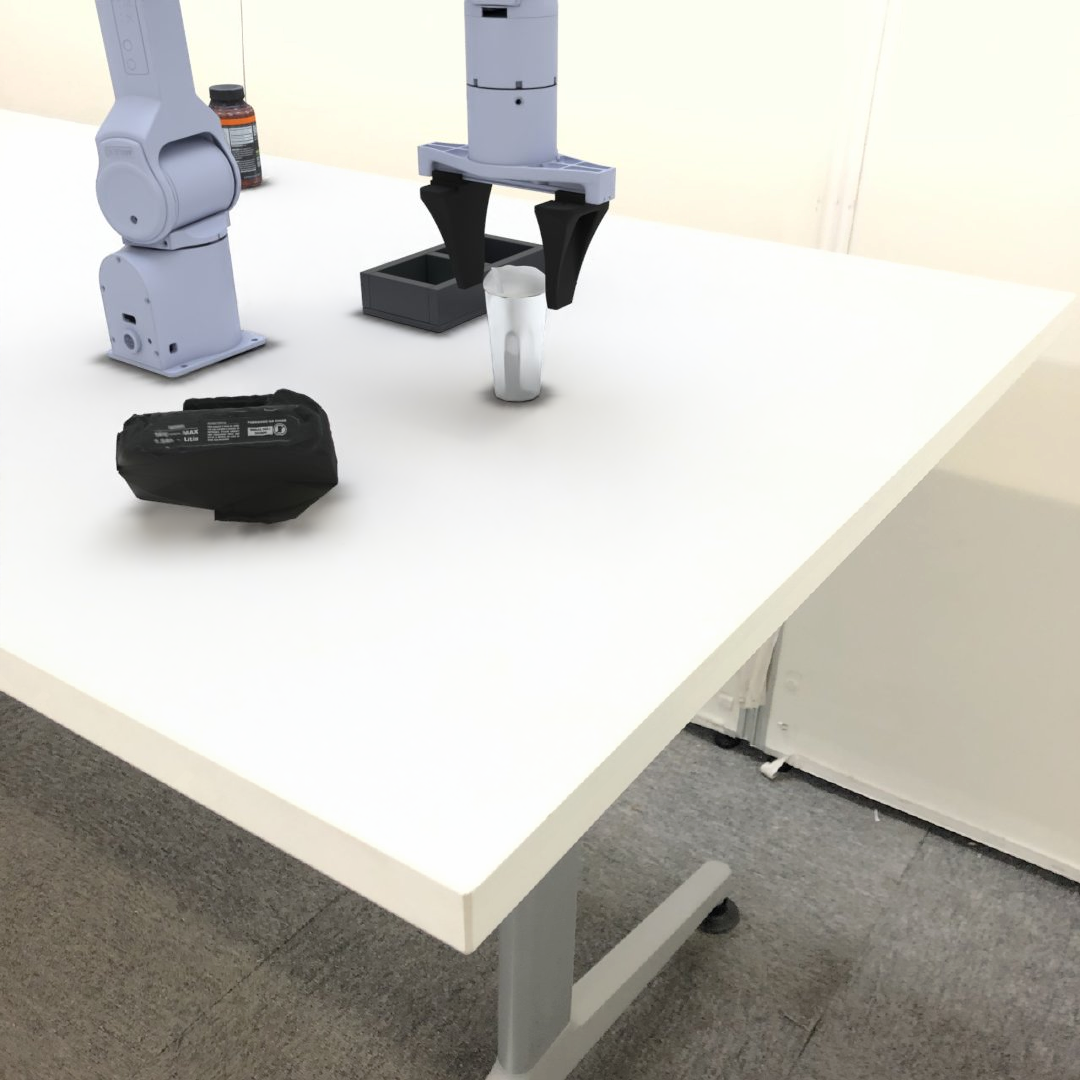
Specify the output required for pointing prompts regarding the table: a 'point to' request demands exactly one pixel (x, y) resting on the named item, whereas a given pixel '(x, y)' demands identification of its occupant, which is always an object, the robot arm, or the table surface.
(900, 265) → the table surface
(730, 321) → the table surface
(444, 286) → the dark grey divided tray
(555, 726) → the table surface
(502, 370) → the milkshake
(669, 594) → the table surface
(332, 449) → the battery
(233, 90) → the supplement bottle
